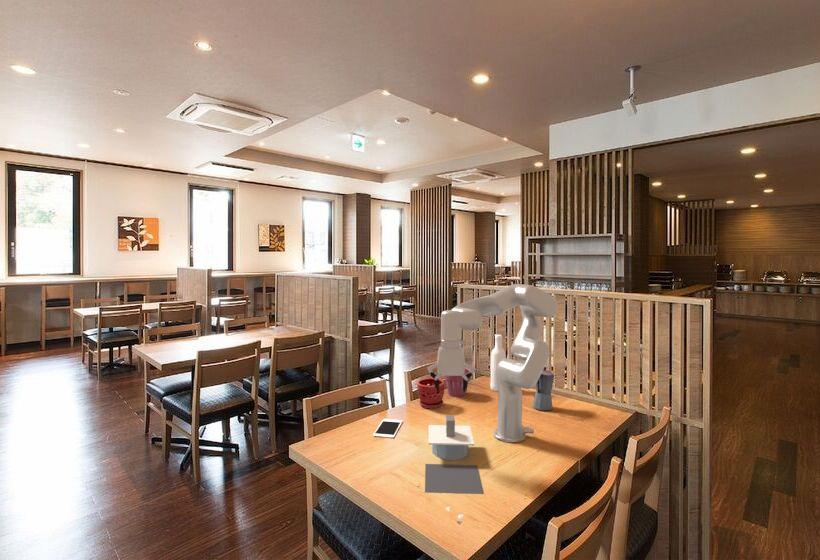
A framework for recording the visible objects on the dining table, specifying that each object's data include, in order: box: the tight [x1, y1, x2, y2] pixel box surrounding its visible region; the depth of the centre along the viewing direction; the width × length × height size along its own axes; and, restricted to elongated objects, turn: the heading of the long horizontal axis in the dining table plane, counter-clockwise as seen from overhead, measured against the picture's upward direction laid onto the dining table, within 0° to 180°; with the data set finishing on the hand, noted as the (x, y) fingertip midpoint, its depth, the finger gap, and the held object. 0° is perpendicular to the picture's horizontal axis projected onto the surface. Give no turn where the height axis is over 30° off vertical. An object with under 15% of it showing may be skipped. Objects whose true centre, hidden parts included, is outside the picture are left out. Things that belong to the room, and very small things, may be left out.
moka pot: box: [532, 366, 555, 412], centre depth 207 cm, size 10×15×20 cm, turn 148°
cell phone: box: [372, 418, 404, 439], centre depth 183 cm, size 9×18×1 cm, turn 169°
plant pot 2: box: [443, 367, 472, 398], centre depth 228 cm, size 14×14×13 cm
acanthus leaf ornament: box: [445, 506, 464, 526], centre depth 123 cm, size 8×7×2 cm
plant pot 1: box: [416, 377, 445, 410], centre depth 211 cm, size 13×13×12 cm
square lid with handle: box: [428, 415, 475, 447], centre depth 160 cm, size 16×16×7 cm
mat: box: [424, 463, 484, 495], centre depth 141 cm, size 18×18×1 cm
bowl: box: [432, 445, 469, 461], centre depth 160 cm, size 13×13×7 cm
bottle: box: [489, 334, 507, 392], centre depth 237 cm, size 8×8×30 cm
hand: (450, 390), depth 159 cm, fingers open, 9 cm apart
